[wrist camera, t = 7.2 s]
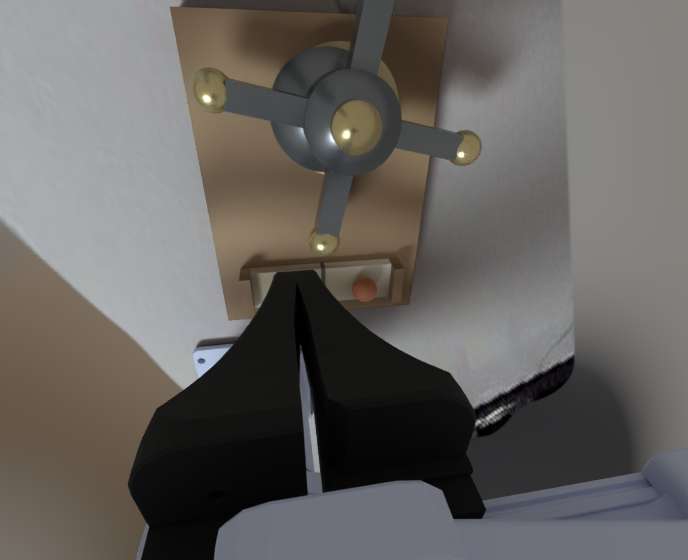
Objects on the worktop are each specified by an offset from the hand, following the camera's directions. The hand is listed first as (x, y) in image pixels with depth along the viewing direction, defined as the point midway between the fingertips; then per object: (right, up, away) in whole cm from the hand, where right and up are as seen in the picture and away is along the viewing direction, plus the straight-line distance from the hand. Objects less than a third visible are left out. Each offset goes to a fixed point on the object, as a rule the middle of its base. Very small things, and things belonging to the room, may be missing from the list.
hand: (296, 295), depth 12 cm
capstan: (+1, +8, +5) cm, 10 cm away
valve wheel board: (0, +6, +9) cm, 11 cm away
